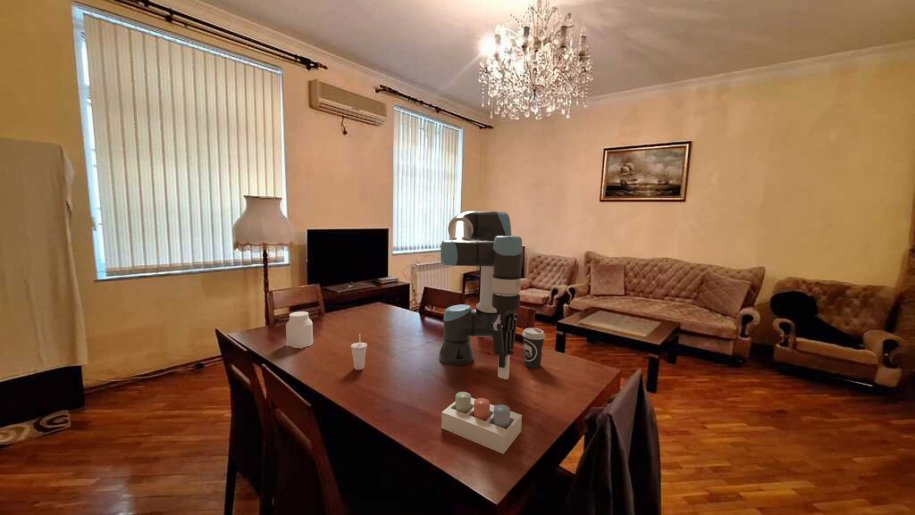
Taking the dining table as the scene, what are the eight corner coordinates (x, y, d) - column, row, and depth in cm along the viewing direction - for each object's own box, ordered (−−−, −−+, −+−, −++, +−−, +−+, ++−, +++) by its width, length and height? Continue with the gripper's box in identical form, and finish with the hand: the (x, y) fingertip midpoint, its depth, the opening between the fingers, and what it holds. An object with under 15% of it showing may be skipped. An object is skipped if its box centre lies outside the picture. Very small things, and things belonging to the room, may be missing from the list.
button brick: (470, 422, 101) (471, 403, 100) (478, 415, 105) (478, 396, 104) (484, 428, 98) (485, 408, 98) (492, 420, 102) (492, 401, 101)
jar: (316, 343, 167) (315, 313, 165) (298, 350, 159) (297, 318, 157) (301, 339, 172) (300, 309, 171) (283, 345, 164) (281, 314, 162)
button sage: (452, 415, 104) (452, 396, 103) (460, 408, 108) (460, 390, 107) (465, 420, 102) (465, 401, 101) (473, 413, 106) (473, 394, 105)
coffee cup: (544, 371, 142) (546, 335, 140) (520, 368, 144) (522, 333, 142) (543, 361, 151) (545, 328, 149) (521, 359, 153) (522, 326, 151)
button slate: (490, 430, 97) (490, 410, 97) (497, 422, 101) (498, 403, 100) (505, 436, 95) (506, 415, 94) (512, 427, 99) (512, 407, 98)
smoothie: (370, 366, 143) (370, 333, 141) (360, 372, 137) (359, 338, 135) (358, 363, 146) (358, 331, 144) (347, 369, 140) (347, 335, 138)
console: (441, 428, 102) (441, 412, 101) (463, 409, 112) (463, 394, 112) (503, 454, 91) (504, 436, 91) (521, 431, 101) (521, 415, 101)
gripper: (509, 299, 86) (505, 390, 88) (528, 291, 97) (525, 372, 99) (482, 295, 90) (479, 382, 92) (503, 287, 101) (501, 365, 103)
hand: (503, 377), depth 96 cm, fingers closed
